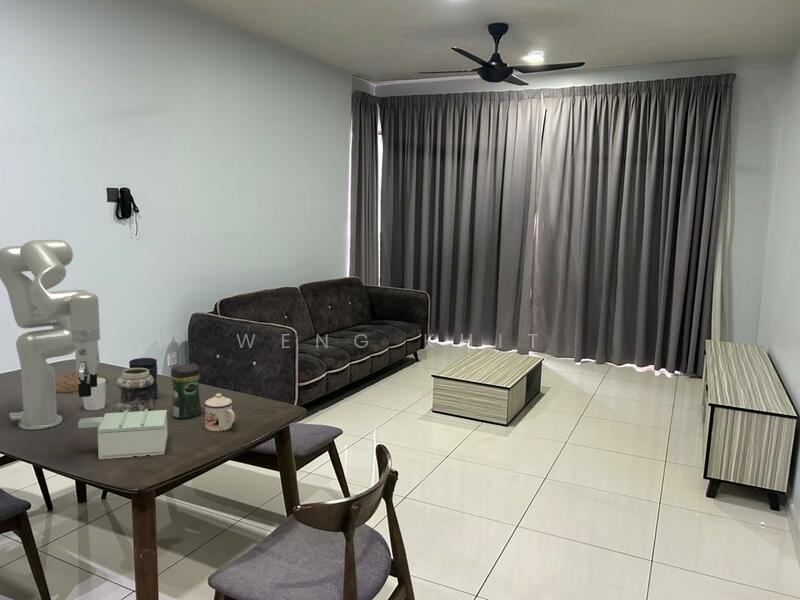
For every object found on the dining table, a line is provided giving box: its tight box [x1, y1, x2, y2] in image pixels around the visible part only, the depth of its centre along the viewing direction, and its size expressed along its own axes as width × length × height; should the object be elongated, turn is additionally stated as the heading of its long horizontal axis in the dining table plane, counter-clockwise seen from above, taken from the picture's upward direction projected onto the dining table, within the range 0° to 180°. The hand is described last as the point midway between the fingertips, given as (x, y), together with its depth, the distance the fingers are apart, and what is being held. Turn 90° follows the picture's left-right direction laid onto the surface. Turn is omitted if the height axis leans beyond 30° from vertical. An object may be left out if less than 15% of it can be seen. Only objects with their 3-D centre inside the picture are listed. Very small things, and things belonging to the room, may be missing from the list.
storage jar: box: [128, 357, 159, 402], centre depth 231 cm, size 10×10×15 cm
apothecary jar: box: [116, 368, 156, 413], centre depth 208 cm, size 12×12×18 cm
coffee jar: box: [170, 362, 202, 420], centre depth 216 cm, size 10×8×19 cm
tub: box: [97, 414, 168, 460], centre depth 187 cm, size 18×14×8 cm
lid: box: [77, 409, 168, 434], centre depth 185 cm, size 24×14×2 cm, turn 107°
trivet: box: [55, 371, 108, 394], centre depth 246 cm, size 25×25×2 cm
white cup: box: [82, 378, 107, 411], centre depth 220 cm, size 8×8×10 cm
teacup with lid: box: [204, 393, 236, 432], centre depth 205 cm, size 12×9×12 cm
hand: (88, 391), depth 180 cm, fingers open, 9 cm apart
